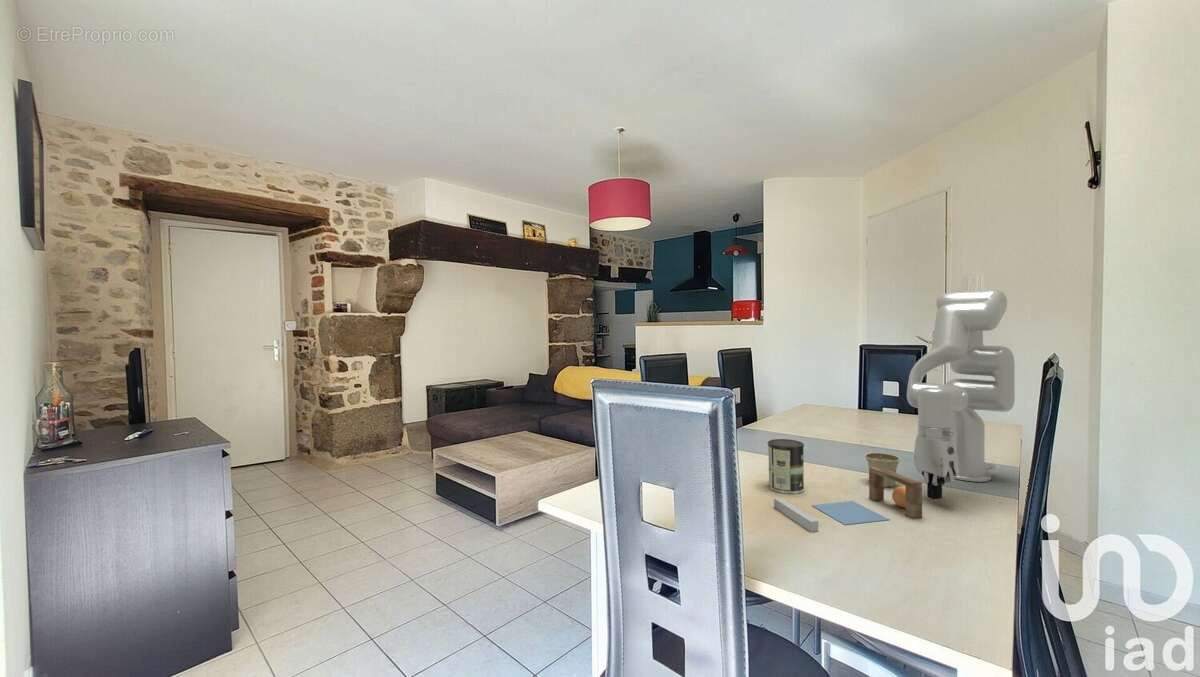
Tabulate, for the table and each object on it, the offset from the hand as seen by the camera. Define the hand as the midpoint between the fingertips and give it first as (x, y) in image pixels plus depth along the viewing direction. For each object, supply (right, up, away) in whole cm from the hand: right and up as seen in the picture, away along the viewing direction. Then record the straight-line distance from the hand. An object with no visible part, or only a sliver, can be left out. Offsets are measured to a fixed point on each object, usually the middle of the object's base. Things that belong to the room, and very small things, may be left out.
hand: (934, 498), depth 129 cm
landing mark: (-26, -2, -5) cm, 27 cm away
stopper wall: (-42, -3, -8) cm, 43 cm away
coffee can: (-35, -2, +15) cm, 38 cm away
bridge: (-13, -2, -2) cm, 13 cm away
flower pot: (-5, -2, +17) cm, 17 cm away
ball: (-10, +1, -2) cm, 10 cm away
